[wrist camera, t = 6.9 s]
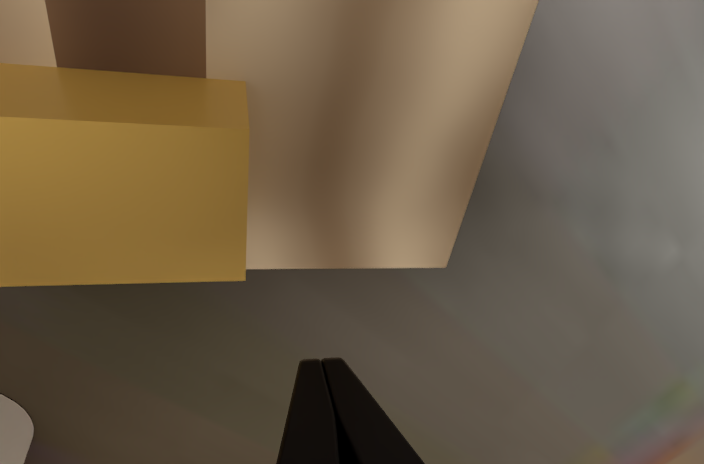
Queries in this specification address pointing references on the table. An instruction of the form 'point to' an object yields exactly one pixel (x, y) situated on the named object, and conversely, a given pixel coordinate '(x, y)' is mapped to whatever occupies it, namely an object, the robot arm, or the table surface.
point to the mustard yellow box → (121, 177)
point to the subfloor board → (319, 106)
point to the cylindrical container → (14, 432)
